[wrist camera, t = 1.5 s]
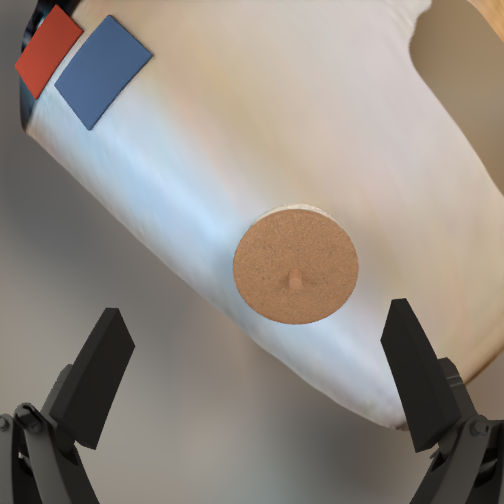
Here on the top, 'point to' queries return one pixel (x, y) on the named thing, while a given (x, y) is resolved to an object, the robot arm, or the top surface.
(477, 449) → the robot arm
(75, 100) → the blue mat
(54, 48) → the red mat
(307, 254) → the white bowl with cork
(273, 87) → the top surface
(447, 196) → the top surface
